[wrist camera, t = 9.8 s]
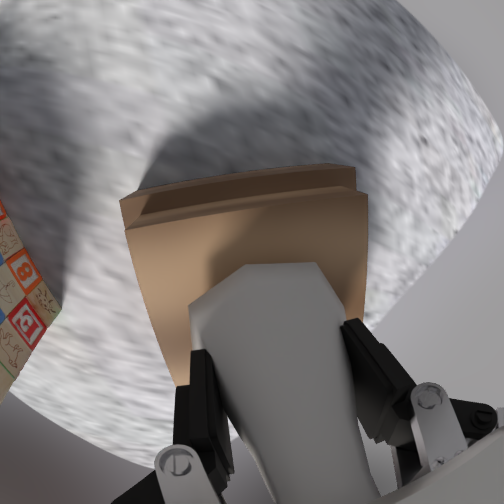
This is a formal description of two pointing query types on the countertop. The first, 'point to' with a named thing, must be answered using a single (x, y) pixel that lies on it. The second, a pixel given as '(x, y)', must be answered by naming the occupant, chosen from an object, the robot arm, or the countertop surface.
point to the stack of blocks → (20, 305)
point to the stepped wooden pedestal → (242, 240)
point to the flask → (287, 380)
